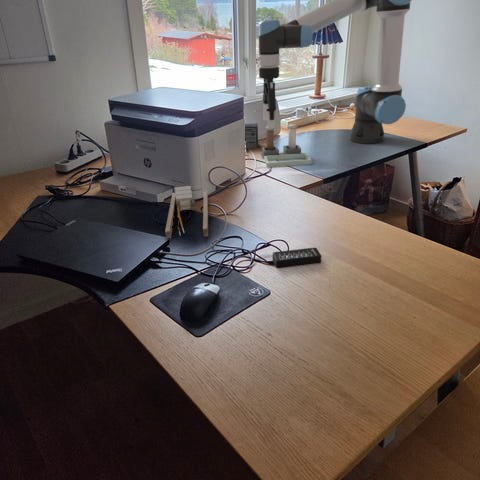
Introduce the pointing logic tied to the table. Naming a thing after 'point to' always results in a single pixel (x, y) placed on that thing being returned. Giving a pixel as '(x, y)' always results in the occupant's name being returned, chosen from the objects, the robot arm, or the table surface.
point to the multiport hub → (296, 257)
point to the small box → (251, 135)
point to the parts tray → (287, 163)
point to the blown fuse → (270, 138)
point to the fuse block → (276, 151)
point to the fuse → (292, 136)
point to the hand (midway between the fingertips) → (269, 124)
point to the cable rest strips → (172, 210)
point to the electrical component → (184, 201)
